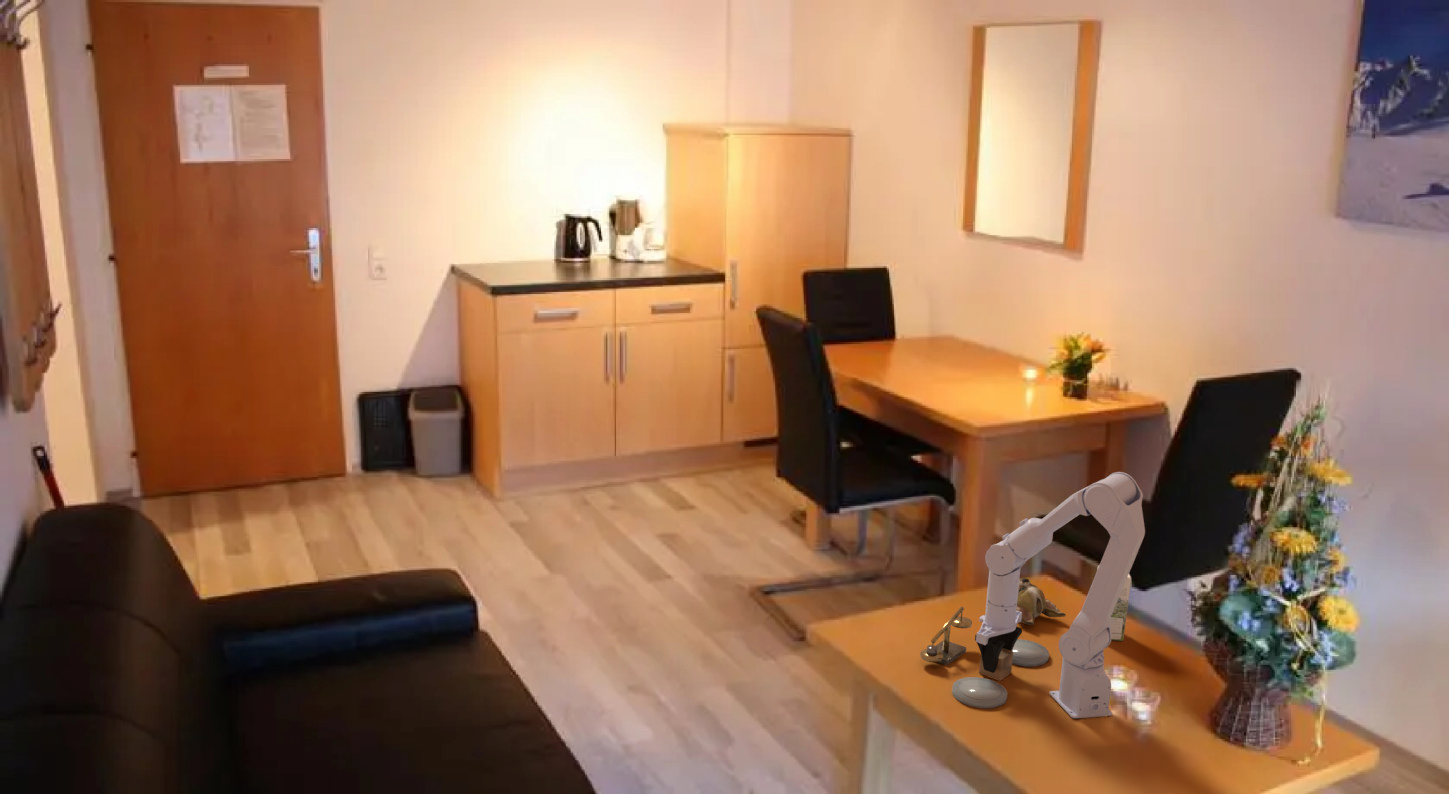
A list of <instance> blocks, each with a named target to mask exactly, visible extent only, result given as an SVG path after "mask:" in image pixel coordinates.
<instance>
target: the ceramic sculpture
mask: <svg viewBox="0 0 1449 794" xmlns="http://www.w3.org/2000/svg"><path fill="white" fill-rule="evenodd" d="M1016 611H1019V612H1022V619H1021V622H1020V623H1022V624H1025V625H1030V626H1034V625H1035V618H1037V617H1039V616H1041V614H1042V615H1044V616H1045V617H1049V618H1062V617H1066V616H1067V614H1066V613H1065V612H1061V611H1060V609H1059V608H1058V607H1057V605H1056V604H1054V603H1053V602H1052V601H1051V600H1050V599H1048V598H1046V597H1045V594H1044V591H1043V590H1042V589H1041V588H1039V587H1038V586H1037V585H1035V584H1032V583H1031V581H1030V579H1029V578H1019V590H1018V600H1017V610H1016Z"/></svg>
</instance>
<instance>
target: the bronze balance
mask: <svg viewBox="0 0 1449 794" xmlns="http://www.w3.org/2000/svg"><path fill="white" fill-rule="evenodd" d="M964 610H965V608H964V607H963V606H960V607H959V608H958V609H957V611H955V613H954V614H953V615H952V616H951V617H950V618H949V619H948V621H946V622H945V623H944V625H943V626H942V627H941V628H940V630H939V631H938V632H937V633H936V634H935V636H933V637H932V638H931V640H930V643H931V644H928V645H927V646H926V649H922V650H921V651H920V652H919V653H920V655H919V657H920V659H922V660H923V661H925V662H929V663H938V664H941V665H943V666H944V665H945V666H949V665H950V664H951V663H953V662H954V661H956V660H957V659H959V657H961V656H963V655H964V654H965V653H966V652H967V647H966V646H965V645H961V644H958V643H954V642H951V641H950V637H951V626H952V627H954V628H957V629H968V628H969V629H970V628H971V627H972V626H973V621H972V620H971V619H970V618H969V617H965V616H963V612H964ZM942 635H943V640H941V641H940V642H939V643H936V642H937V641H938V639H940V637H941V636H942ZM935 643H936V645H934V644H935Z"/></svg>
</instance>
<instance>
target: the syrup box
mask: <svg viewBox="0 0 1449 794" xmlns="http://www.w3.org/2000/svg"><path fill="white" fill-rule="evenodd" d="M1098 568H1099V565H1098V566H1097V568H1096V569H1097V570H1098ZM1097 570H1096V571H1097ZM1131 584H1132V576H1131V574H1130V573H1129V574H1128V577H1127V579H1126V581H1125V584H1124V586H1123V589H1122V591H1121V593H1120V596H1119V598H1118V601H1117V603H1116V606H1115V608H1114V610H1113V613H1112V615H1111V618H1112V619H1113V623H1112V626H1111V635H1112V639H1111V641H1116V642H1117V641H1118V642H1119V641H1120V642H1122V641H1124V638H1125V632H1126V631H1125V629H1126V621H1127V615H1128V609H1129V608H1128V607H1129V601H1130V600H1129V599H1130V592H1131Z"/></svg>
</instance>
